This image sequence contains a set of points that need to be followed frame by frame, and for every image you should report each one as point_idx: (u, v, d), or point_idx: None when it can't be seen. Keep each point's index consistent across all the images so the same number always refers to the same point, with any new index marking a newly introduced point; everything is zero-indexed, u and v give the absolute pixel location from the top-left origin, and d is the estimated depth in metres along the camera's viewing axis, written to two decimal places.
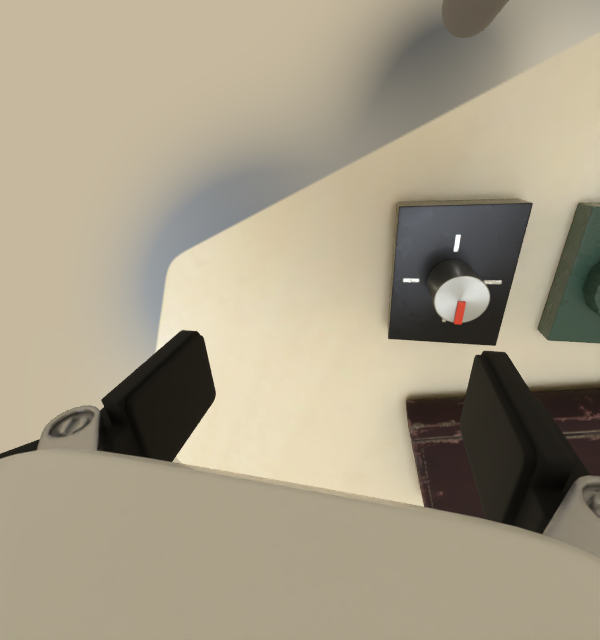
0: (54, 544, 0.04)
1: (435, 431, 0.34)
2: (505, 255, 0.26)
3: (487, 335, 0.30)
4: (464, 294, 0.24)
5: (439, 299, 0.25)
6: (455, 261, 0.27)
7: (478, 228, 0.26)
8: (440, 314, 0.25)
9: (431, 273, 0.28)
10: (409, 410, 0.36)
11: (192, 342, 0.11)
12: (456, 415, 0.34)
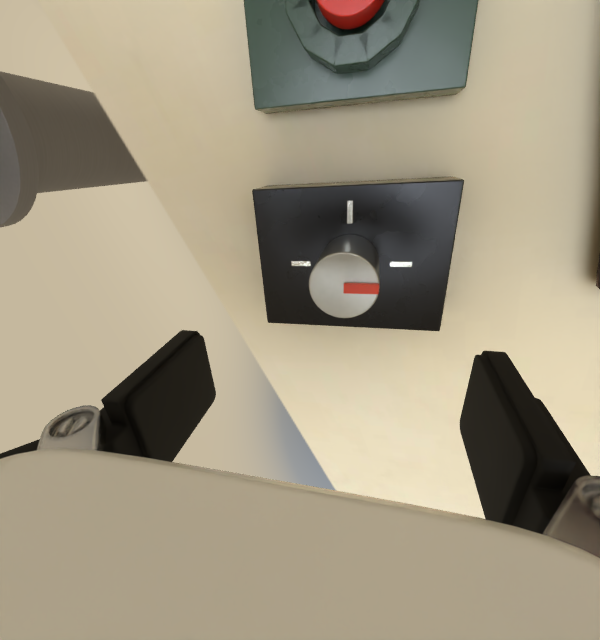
0: (54, 544, 0.04)
1: None
2: (313, 204, 0.20)
3: (442, 197, 0.19)
4: (334, 284, 0.18)
5: (342, 312, 0.19)
6: None
7: (283, 242, 0.22)
8: (365, 309, 0.18)
9: None
10: None
11: (192, 342, 0.11)
12: None
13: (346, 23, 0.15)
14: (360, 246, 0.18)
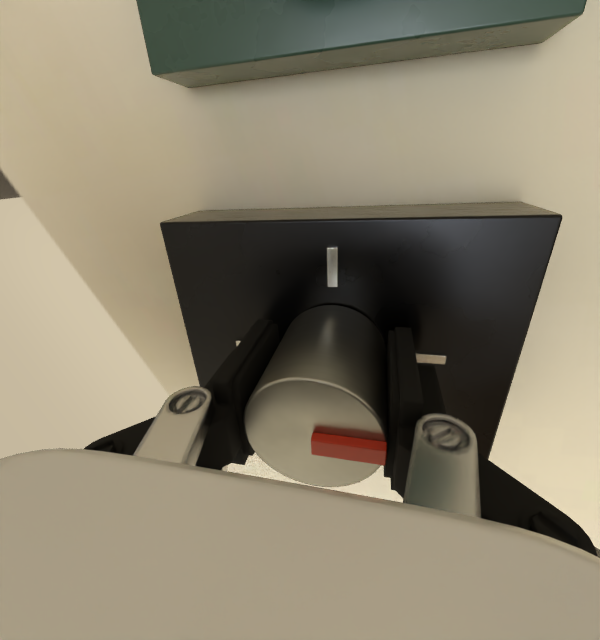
0: (54, 544, 0.04)
1: None
2: (267, 250, 0.11)
3: (513, 247, 0.09)
4: (293, 432, 0.09)
5: (313, 478, 0.09)
6: None
7: (221, 311, 0.13)
8: (358, 479, 0.09)
9: None
10: None
11: (271, 330, 0.11)
12: None
13: None
14: (349, 346, 0.09)
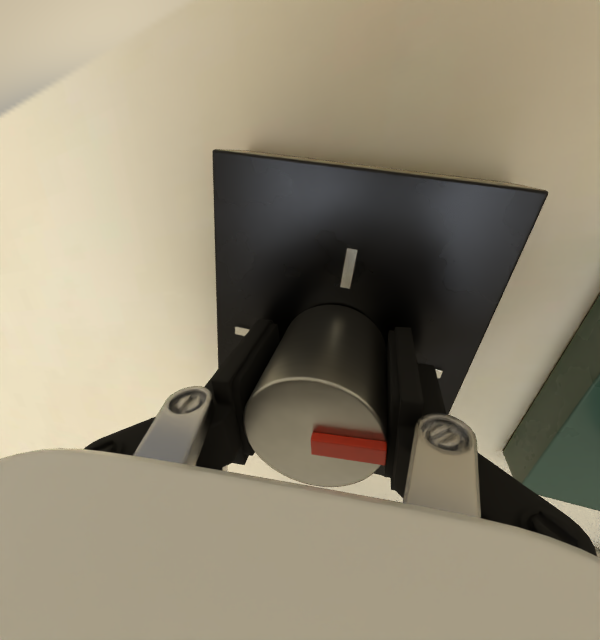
0: (54, 544, 0.04)
1: None
2: (458, 317, 0.11)
3: None
4: (292, 432, 0.09)
5: (312, 477, 0.09)
6: None
7: (400, 240, 0.10)
8: (358, 479, 0.09)
9: None
10: None
11: (272, 330, 0.11)
12: None
13: None
14: (348, 345, 0.09)
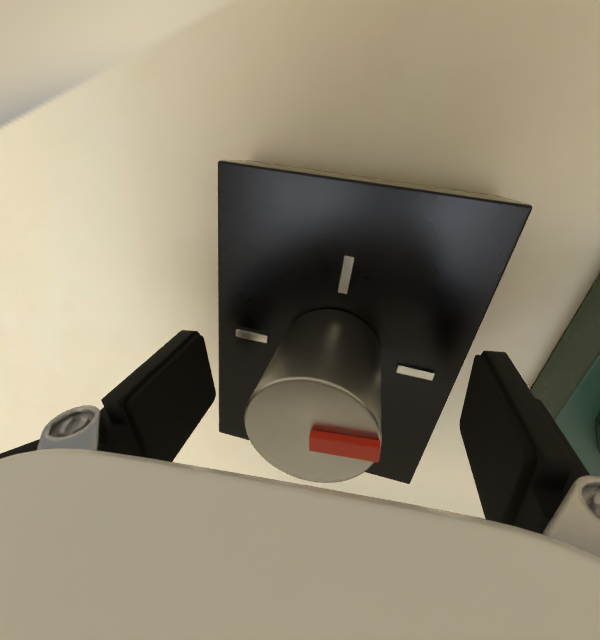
0: (54, 544, 0.04)
1: None
2: (449, 322, 0.11)
3: (396, 465, 0.15)
4: (292, 429, 0.09)
5: (308, 473, 0.10)
6: None
7: (395, 249, 0.11)
8: (352, 475, 0.09)
9: None
10: None
11: (192, 342, 0.11)
12: None
13: None
14: (347, 349, 0.10)
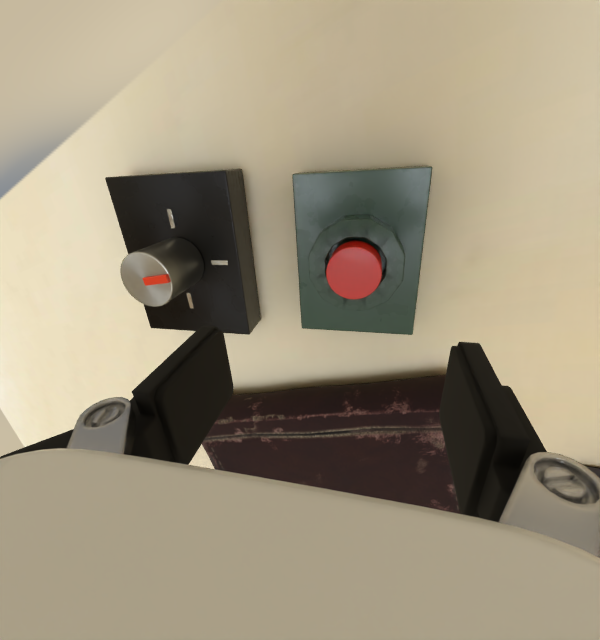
0: (54, 544, 0.04)
1: (216, 429, 0.32)
2: (221, 231, 0.24)
3: (238, 323, 0.27)
4: (139, 279, 0.22)
5: (154, 301, 0.22)
6: None
7: (185, 201, 0.23)
8: (168, 296, 0.22)
9: None
10: None
11: (213, 337, 0.11)
12: (236, 411, 0.31)
13: None
14: (163, 246, 0.22)
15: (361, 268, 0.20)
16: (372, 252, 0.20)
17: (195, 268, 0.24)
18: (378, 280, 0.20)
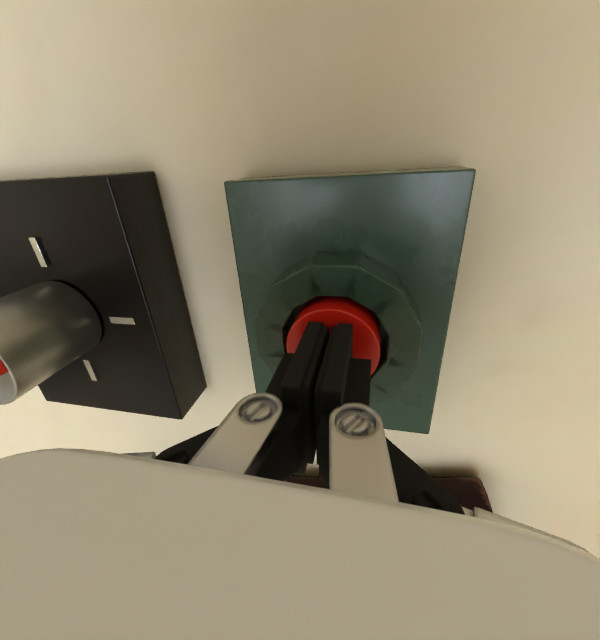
0: (54, 544, 0.04)
1: None
2: (118, 274, 0.14)
3: (163, 404, 0.18)
4: None
5: None
6: None
7: (55, 225, 0.14)
8: (13, 393, 0.13)
9: None
10: None
11: (325, 332, 0.11)
12: None
13: None
14: (8, 303, 0.13)
15: None
16: (363, 318, 0.11)
17: (78, 333, 0.15)
18: (374, 364, 0.12)
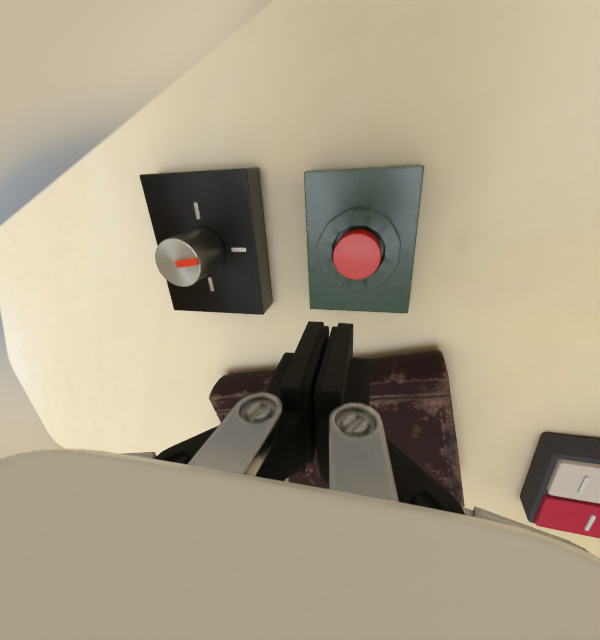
0: (54, 544, 0.04)
1: (232, 402, 0.35)
2: (241, 222, 0.27)
3: (253, 304, 0.31)
4: (171, 262, 0.25)
5: (184, 282, 0.26)
6: None
7: (210, 195, 0.27)
8: (196, 277, 0.25)
9: None
10: (217, 383, 0.37)
11: (325, 332, 0.11)
12: (250, 386, 0.35)
13: None
14: (191, 234, 0.26)
15: (363, 252, 0.24)
16: (373, 238, 0.23)
17: (218, 254, 0.27)
18: (378, 262, 0.24)
